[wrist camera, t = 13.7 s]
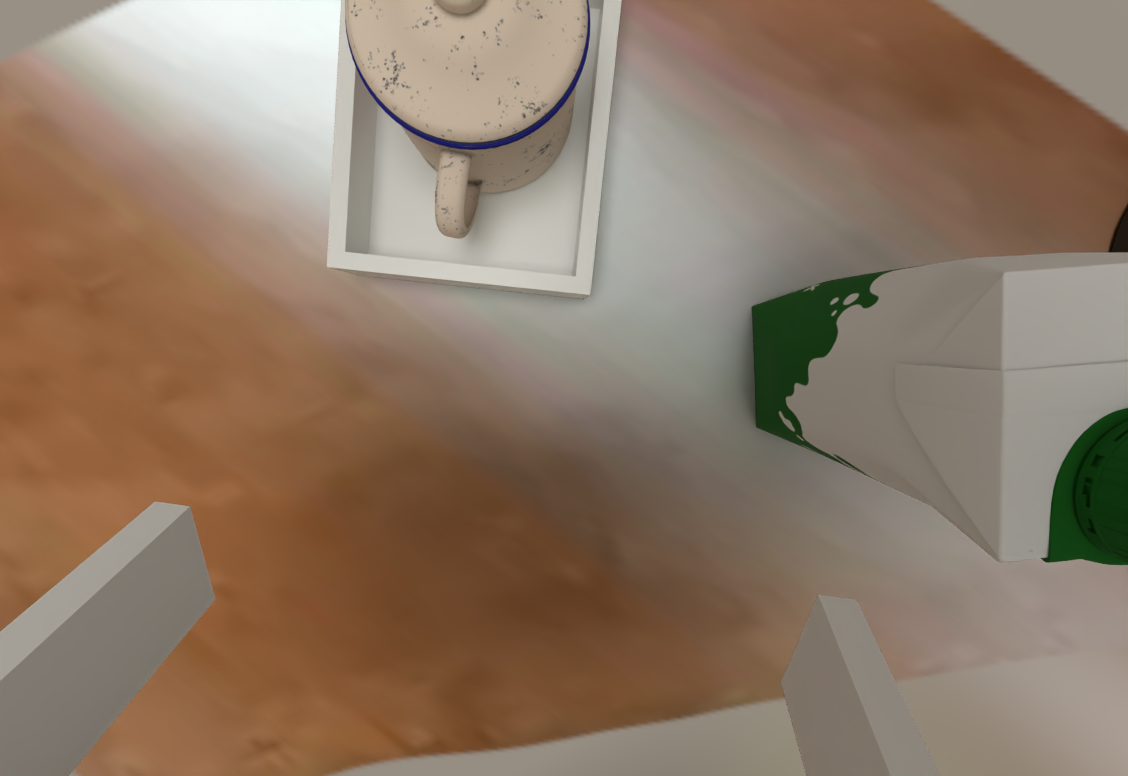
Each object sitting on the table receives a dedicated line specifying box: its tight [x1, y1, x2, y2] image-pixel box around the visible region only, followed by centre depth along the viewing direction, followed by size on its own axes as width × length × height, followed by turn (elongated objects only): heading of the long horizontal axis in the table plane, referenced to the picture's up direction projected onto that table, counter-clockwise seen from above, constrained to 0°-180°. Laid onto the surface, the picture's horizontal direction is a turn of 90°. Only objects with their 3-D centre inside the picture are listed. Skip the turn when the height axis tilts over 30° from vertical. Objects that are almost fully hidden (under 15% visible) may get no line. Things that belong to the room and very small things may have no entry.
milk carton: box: [752, 252, 1128, 565], centre depth 22 cm, size 9×9×20 cm
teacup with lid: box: [345, 0, 590, 239], centre depth 23 cm, size 12×9×12 cm
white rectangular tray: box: [327, 0, 622, 299], centre depth 28 cm, size 13×16×4 cm
